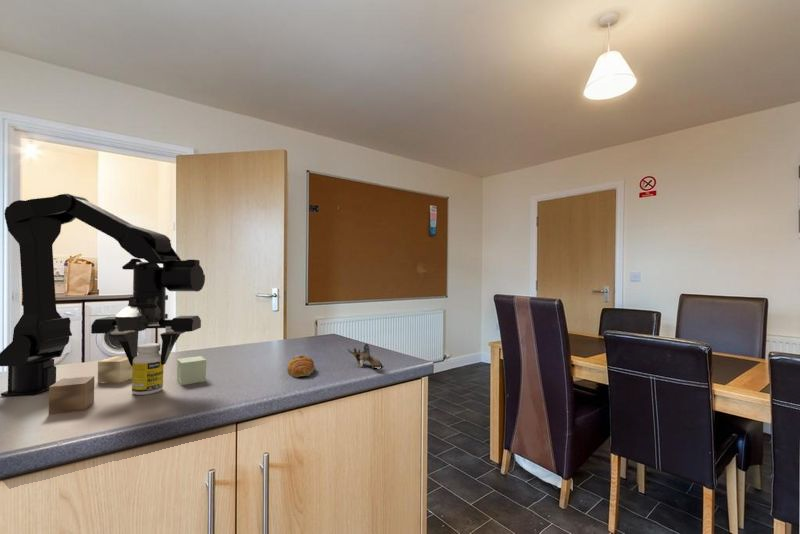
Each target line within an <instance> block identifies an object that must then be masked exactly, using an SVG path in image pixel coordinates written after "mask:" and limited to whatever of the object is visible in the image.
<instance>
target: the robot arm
mask: <svg viewBox="0 0 800 534" xmlns="http://www.w3.org/2000/svg"><path fill="white" fill-rule="evenodd" d="M76 219H77V220H79V221H80V222H83V223H84V224H86V225H88V226H91V227H92V228H94V229H95V230H98V231H99V232H101V233H103V234H105V235H107V236H109V237H111V238H113V239H114V240H115V241H116V242H118V244H119V246H120V247H121V249H123V250H124V251H125V252H127V253H128V254H129V255H130V256H132V258H130V260H129V261H128V262H127V263H126V264H124V265H122V266H121V268H122V270H125V271H126V270H130V271H131V270H133V272H132V273H133V277H132V278H133V280H132V282H133V283H132V296H129V299H128V304H127V306H126V307H123V309H121V310H120V311H118V312H117V313H116V314H115V315H114V316H105V317H101V318H95V320H93V321H92V324H91V327H90V329H91V334H92V335H94V334H108V337H109V338H113V339H115V340H116V341H117V342H119V345H120V346H121V347H122V349H123V351H124V353H125V356H127V358H128V360H129V363H130V365H131V366H133V359H134V357H136V356H138V353H137V348H138V343H139V332H142V331H146V329H164V330H165V332H163V333H160V334H159V336H160V338H161V341H162V342H161V349H160V351H161V353H160V354H161V365H163V366H164V365H166V364H167V362H168V359H169V356H170V354H171V353H172V350H173V348H174V346H175V344H176V342H177V341H178V339H179V337H180V336H181V335H182V334H184V333H187V332H188V333H189V332H190V333H191V332H194V331H196V330H199V329H201V327H202V320H201V317H200V316H199V315H180V316H176V317H173V318H172V319H168V317H169V314H168V313H166V301H168V299H169V295H168V294H166V292H167V291H166V290H168V291H169V292H200V291H201V290H203V288H204V285H205V281H206V275H205V274H204V270H203V268H202V266H201V264H200V261H201V260H199V259H185V260H184V259H183V260H182V259H181V257H180V256H179V255H178V254H177V253H176V251H175V249H174V248H173V247H172V243H171V241H172V240H171V239H170V238H169V237H168V235H165V234H162V233H160V232H157V231H155V230H150V229H147V228H144V227H140V226H137V225H134V224H132V223H130V222H128V221H126V220H125V219H123V218H120V216H119V217H118V216H117V215H115V214H113V213H111V212H109V211H107V210H106V209H104V208H102V207H100V206H99V205H96V204H94V203H92V202H90V201H89V200H88V199H87V198H86V197H83V196H80V195H79V196H78V195H76V194H75V195H74V194H70V193H63V194H61V193H60V194H58V195H55V196H49V197H40V198H39V197H37V198H31V199H27V200H25V199H24V200H22V199H19V200H15V201H13V202H11V203H10V204H9V205H8V206H6V207H5V209H4V220H5V223H6V228H7V231H8V233H10V235H11V237H13V239H14V240H15V241H16V242H17V244H18V245H19V263H20V277H21V292H22V293H21V295H22V307H23V308H22V309H23V311H22V315H21V317H20V318H19V320H18V322H17V323H16V325H15V326H14V327H13V333H12V341H11V342H10V343H9V344H8V345H7V346H6V347H5V348H3V350H2V351H0V367H7V391H3V392H1V393H0V396H1V397H4V396H5V397H6V396H25V395H26V396H27V395H28V396H29V395H38V394H40V393H43V392H45V391H49V387H50V386H51V385H53V384H54V383H56V382H57V366H56V365H55V358H61V357H62V356H63V355H62V354H63V352H64V349H65V347H66V345H68V344H69V343H70V337H72V336H73V333H72V331H71V323H72V322H71V318H70V317H63V316H61V314H60V313H59V312H58V310H57V303H56V302H57V301H56V284H55V267H54V254H53V253H54V252H53V249H54V248H53V244H54V243H55V241H56V240H57V238H58V237H59V236H60V234H61V230H62V226H63V225H65V224H69V223H71V222H73V221H74V220H76ZM142 260H145V261H142ZM159 264H162V265H163V266H162V267H160V266H159ZM109 333H110V334H109Z"/></svg>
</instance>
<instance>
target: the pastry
mask: <svg viewBox="0 0 800 534" xmlns="http://www.w3.org/2000/svg"><path fill="white" fill-rule="evenodd" d="M315 368H316V367H315V362H314V360H313V359H312V358H311V357H308V356H305V355H298V356H296V357H293V358H292V359H291V360H290V361H289V362H288V364H287V367H286V370H287V373H288V374H289V375H290V376H291V377H293V378H299V377H309V376H311V375H312V374H314V370H315ZM311 373H312V374H311Z"/></svg>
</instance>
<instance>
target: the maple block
mask: <svg viewBox="0 0 800 534" xmlns="http://www.w3.org/2000/svg"><path fill="white" fill-rule="evenodd" d="M132 372H133V366H131V365H130V363H129V360H128V358H127V356H126V355H125V356H124V355H122V356H119V355H118V356H117V355H116V356H112V357H108V358H105V359H102V360H99V361H97V383H98V382H100V383H99V384H102V383H101V382H104V383H103V384H121V383H120V382H122V383H124V382H123V381H125V382H126V380H127V381H129V380H128V379H130V380H132V379H131V378H132ZM105 382H106V383H105Z"/></svg>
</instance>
